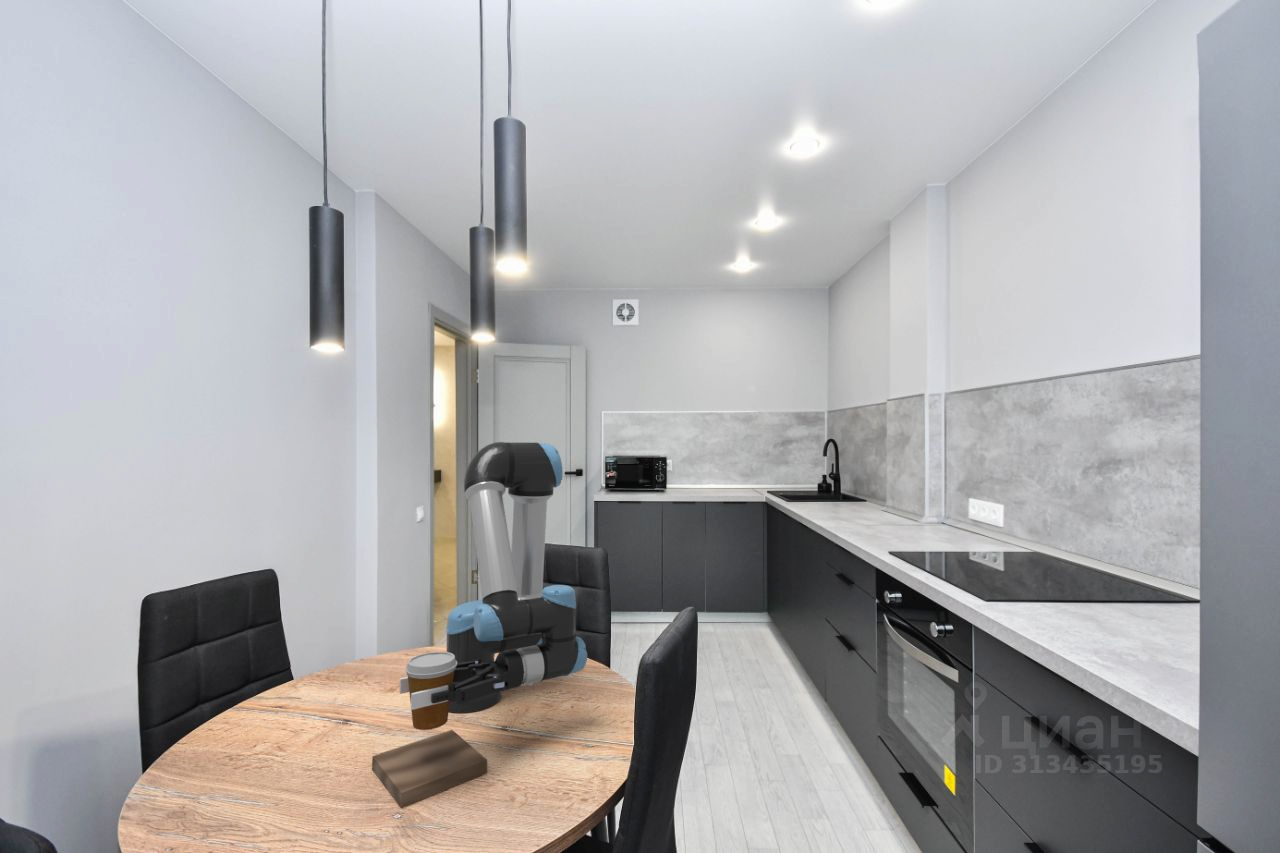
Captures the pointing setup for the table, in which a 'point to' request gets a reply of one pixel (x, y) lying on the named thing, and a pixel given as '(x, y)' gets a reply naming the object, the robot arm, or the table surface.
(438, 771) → the walnut board
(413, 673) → the disposable coffee cup
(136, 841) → the table surface
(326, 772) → the table surface
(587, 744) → the table surface
